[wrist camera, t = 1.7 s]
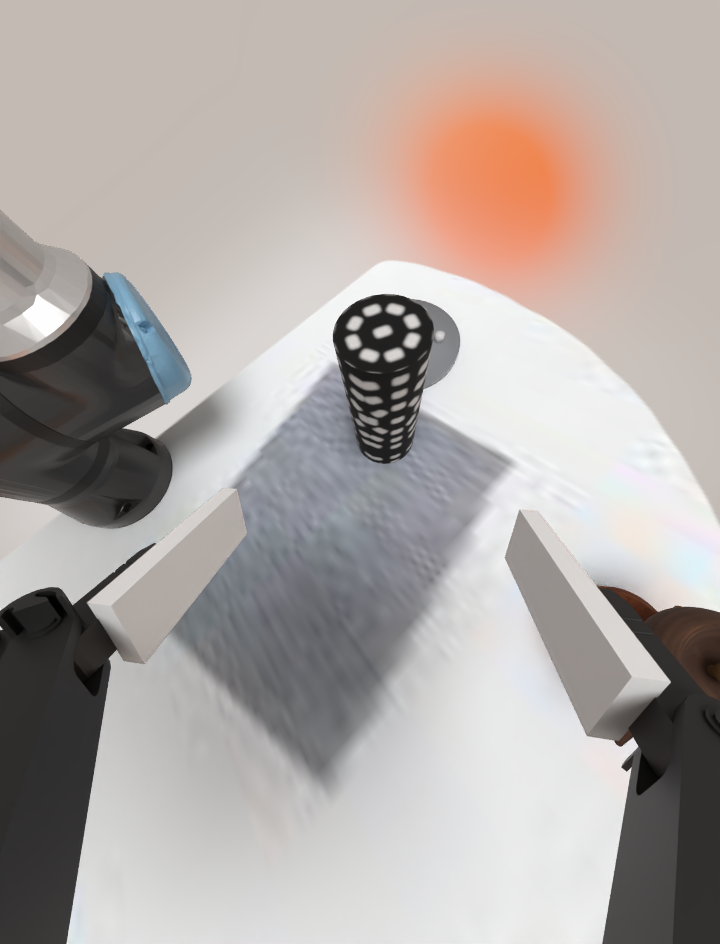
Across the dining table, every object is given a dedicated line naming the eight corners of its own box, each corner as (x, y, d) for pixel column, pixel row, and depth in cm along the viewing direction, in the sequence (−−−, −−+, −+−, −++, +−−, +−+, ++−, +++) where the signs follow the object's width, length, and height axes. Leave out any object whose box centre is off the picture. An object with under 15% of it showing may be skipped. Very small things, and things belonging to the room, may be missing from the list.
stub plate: (344, 391, 45) (342, 381, 42) (355, 307, 51) (353, 293, 48) (459, 393, 43) (463, 382, 40) (456, 305, 48) (460, 291, 46)
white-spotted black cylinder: (400, 406, 43) (410, 282, 24) (421, 452, 40) (451, 352, 22) (350, 424, 43) (320, 313, 24) (368, 471, 40) (350, 387, 21)
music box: (591, 553, 34) (881, 560, 15) (672, 629, 32) (1147, 758, 12) (506, 642, 32) (717, 791, 12) (586, 732, 29) (1000, 1087, 10)
